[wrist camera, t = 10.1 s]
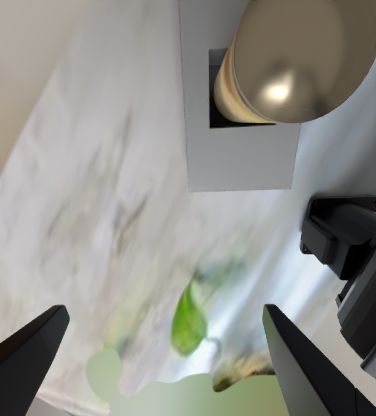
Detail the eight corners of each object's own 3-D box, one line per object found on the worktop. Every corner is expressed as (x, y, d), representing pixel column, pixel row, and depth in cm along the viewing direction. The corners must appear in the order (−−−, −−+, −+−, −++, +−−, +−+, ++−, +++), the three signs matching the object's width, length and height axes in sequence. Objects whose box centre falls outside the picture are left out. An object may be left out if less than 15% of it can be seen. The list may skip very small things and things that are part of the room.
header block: (295, -22, 14) (330, -73, 10) (273, 176, 20) (290, 188, 16) (181, -11, 15) (175, -56, 11) (190, 179, 20) (188, 192, 16)
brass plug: (277, 51, 13) (407, -63, 5) (270, 120, 14) (360, 120, 6) (213, 55, 13) (238, -46, 5) (213, 124, 14) (232, 126, 7)
